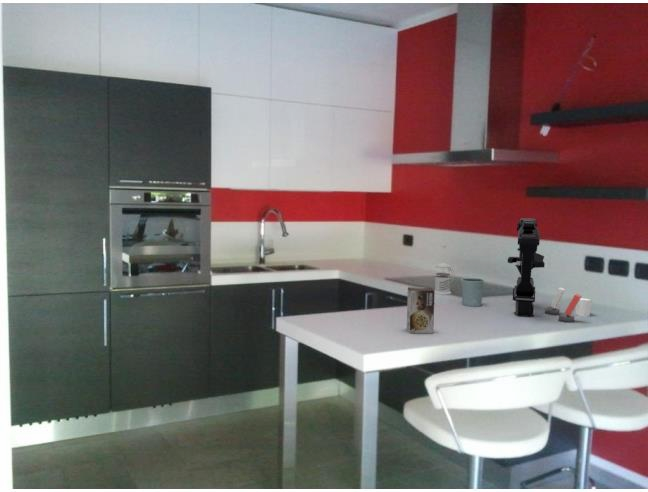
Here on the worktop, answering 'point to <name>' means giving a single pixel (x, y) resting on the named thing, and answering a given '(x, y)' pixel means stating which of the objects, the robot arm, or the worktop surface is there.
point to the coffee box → (420, 310)
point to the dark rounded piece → (566, 318)
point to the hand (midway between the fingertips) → (524, 281)
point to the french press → (443, 279)
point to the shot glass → (583, 307)
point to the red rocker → (573, 304)
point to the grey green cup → (472, 291)
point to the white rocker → (557, 298)
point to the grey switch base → (552, 311)
